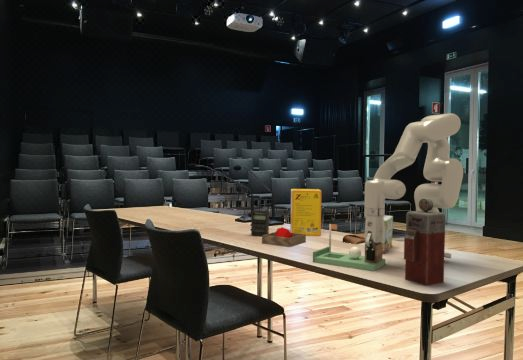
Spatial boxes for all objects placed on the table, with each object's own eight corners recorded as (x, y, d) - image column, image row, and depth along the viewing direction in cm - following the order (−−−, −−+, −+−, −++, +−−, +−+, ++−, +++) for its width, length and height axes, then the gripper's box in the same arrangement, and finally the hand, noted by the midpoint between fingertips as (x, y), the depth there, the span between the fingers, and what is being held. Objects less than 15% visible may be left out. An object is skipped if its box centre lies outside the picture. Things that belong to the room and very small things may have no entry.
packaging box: (290, 231, 251) (290, 188, 250) (318, 231, 250) (318, 189, 249) (291, 235, 235) (291, 190, 234) (320, 236, 234) (321, 190, 233)
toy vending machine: (399, 280, 145) (401, 198, 144) (421, 276, 151) (423, 197, 150) (421, 286, 137) (423, 200, 136) (444, 282, 143) (446, 198, 142)
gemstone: (289, 243, 204) (295, 232, 212) (273, 234, 205) (280, 223, 213) (282, 255, 209) (289, 244, 217) (267, 246, 210) (274, 235, 218)
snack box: (386, 254, 188) (386, 220, 187) (373, 253, 190) (373, 219, 190) (392, 246, 207) (393, 215, 206) (380, 245, 209) (381, 214, 209)
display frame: (305, 242, 215) (305, 234, 215) (290, 246, 202) (290, 238, 202) (278, 238, 224) (278, 231, 224) (261, 243, 211) (262, 235, 211)
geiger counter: (248, 236, 232) (249, 208, 231) (251, 234, 236) (251, 207, 235) (267, 237, 228) (267, 209, 228) (269, 236, 233) (270, 208, 232)
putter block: (382, 260, 165) (382, 242, 165) (377, 263, 160) (377, 245, 160) (369, 259, 168) (370, 241, 168) (364, 261, 163) (364, 243, 163)
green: (385, 263, 169) (386, 228, 168) (373, 270, 157) (374, 233, 157) (327, 255, 183) (328, 223, 182) (312, 261, 171) (313, 227, 170)
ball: (362, 258, 169) (363, 246, 169) (358, 260, 165) (358, 248, 165) (351, 256, 172) (351, 245, 172) (346, 259, 168) (347, 246, 168)
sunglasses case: (355, 244, 209) (350, 232, 212) (345, 249, 214) (340, 237, 217) (377, 240, 221) (372, 229, 223) (368, 246, 226) (363, 234, 228)
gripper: (376, 215, 154) (375, 264, 155) (390, 211, 169) (389, 256, 169) (356, 213, 158) (356, 261, 159) (372, 209, 173) (371, 253, 173)
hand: (373, 258), depth 164 cm, fingers closed on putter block, 6 cm apart
